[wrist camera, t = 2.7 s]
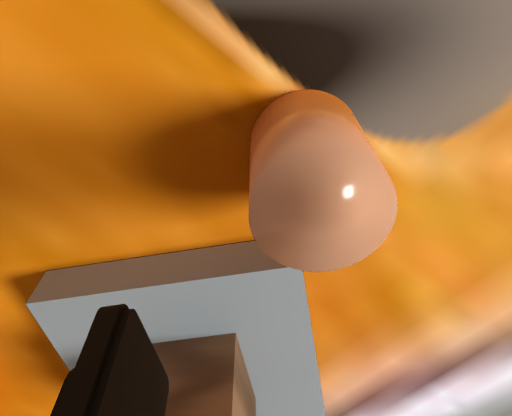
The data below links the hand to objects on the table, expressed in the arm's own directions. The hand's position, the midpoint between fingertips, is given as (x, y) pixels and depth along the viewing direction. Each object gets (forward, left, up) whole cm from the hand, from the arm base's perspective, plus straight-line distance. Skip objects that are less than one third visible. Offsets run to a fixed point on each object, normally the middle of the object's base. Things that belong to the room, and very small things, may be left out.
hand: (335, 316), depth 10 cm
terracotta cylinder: (0, 0, -11) cm, 11 cm away
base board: (+8, +12, -11) cm, 18 cm away
